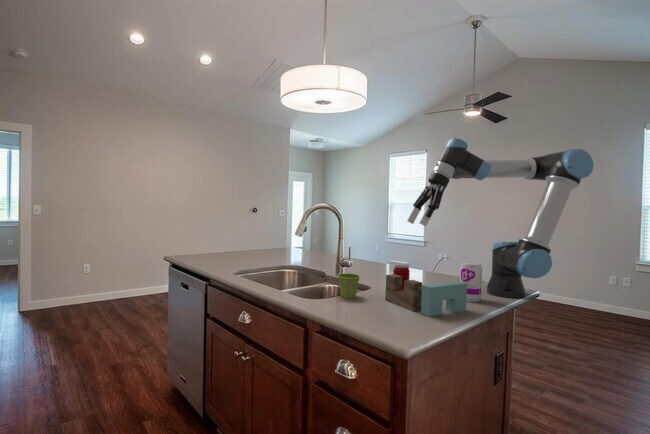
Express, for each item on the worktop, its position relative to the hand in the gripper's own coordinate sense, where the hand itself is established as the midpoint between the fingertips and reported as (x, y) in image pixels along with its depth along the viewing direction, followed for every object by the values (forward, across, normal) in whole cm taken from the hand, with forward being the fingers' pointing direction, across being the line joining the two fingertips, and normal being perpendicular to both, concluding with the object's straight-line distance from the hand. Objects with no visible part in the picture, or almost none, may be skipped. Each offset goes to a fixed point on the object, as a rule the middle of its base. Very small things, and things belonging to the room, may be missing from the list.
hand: (415, 223), depth 136 cm
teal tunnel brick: (+25, +14, +19) cm, 34 cm away
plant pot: (+39, -7, -8) cm, 40 cm away
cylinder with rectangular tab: (+28, -22, +15) cm, 39 cm away
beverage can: (+28, -11, +12) cm, 33 cm away
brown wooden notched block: (+30, +5, +8) cm, 32 cm away
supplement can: (+17, -2, +36) cm, 40 cm away
